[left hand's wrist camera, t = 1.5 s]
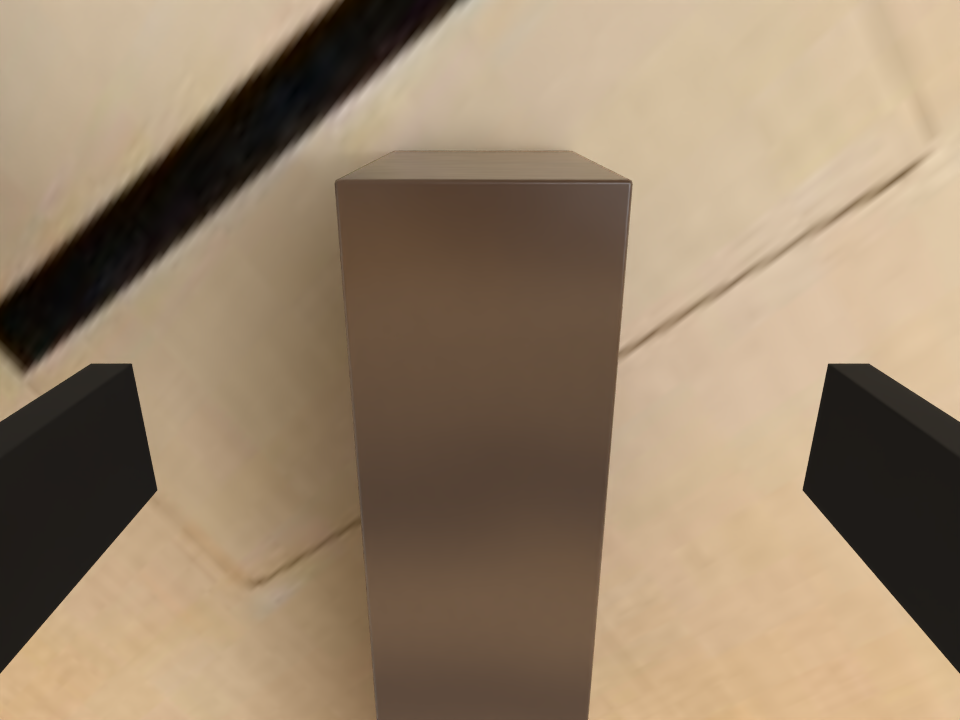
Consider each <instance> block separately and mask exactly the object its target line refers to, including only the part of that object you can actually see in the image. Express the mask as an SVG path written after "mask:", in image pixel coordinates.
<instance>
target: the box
mask: <svg viewBox="0 0 960 720" xmlns="http://www.w3.org/2000/svg"><path fill="white" fill-rule="evenodd" d="M632 185H633V184H632V181H631V180H629V179H627V178H625V177H623V176H621V175H619V174H617V173H615V172H613V171H611V170H609V169H607V168H605V167H603V166H601V165H599V164H597V163H595V162H593V161H591V160H589V159H587V158H585V157H583V156H581V155H579V154H577V153H575V152H573V151H393V152H391V153H389V154H387V155H385V156H383V157H381V158H379V159H377V160H375V161H373V162H371V163H369V164H367V165H365V166H363V167H361V168H359V169H358V170H356V171H354V172H352V173H350V174H348V175H346V176H344V177H342V178H340V179H338V180H336V181H335V194H336V207H337V219H338V232H339V245H340V258H341V270H342V283H343V296H344V309H345V322H346V334H347V347H348V360H349V373H350V385H351V398H352V411H353V424H354V437H355V449H356V462H357V475H358V488H359V500H360V513H361V526H362V539H363V552H364V564H365V577H366V590H367V603H368V615H369V628H370V641H371V654H372V667H373V679H374V692H375V705H376V718H377V720H588V714H589V702H590V690H591V678H592V666H593V654H594V642H595V630H596V618H597V606H598V594H599V582H600V570H601V558H602V546H603V534H604V522H605V510H606V498H607V486H608V474H609V462H610V450H611V438H612V426H613V414H614V402H615V390H616V378H617V366H618V353H619V341H620V329H621V317H622V305H623V293H624V281H625V269H626V257H627V245H628V233H629V221H630V209H631V197H632Z"/></svg>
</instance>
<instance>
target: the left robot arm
mask: <svg viewBox="0 0 960 720" xmlns="http://www.w3.org/2000/svg"><path fill="white" fill-rule="evenodd" d="M156 491H157V486H156V481H155V476H154V471H153V466H152V461H151V456H150V451H149V446H148V441H147V436H146V431H145V427H144V422H143V417H142V412H141V407H140V402H139V397H138V392H137V387H136V382H135V377H134V372H133V367H132V364H90V365H88V366H87V367H85V368H84V369H82V370H81V371H79V372H77V373H76V374H74V375H73V376H71V377H70V378H68V379H67V380H65V381H63V382H62V383H60V384H59V385H57V386H56V387H54V388H52V389H51V390H49V391H48V392H46V393H45V394H43V395H42V396H40V397H38V398H37V399H35V400H34V401H32V402H31V403H29V404H28V405H26V406H24V407H23V408H21V409H20V410H18V411H17V412H15V413H14V414H12V415H10V416H9V417H7V418H6V419H4V420H3V421H1V422H0V673H1V672H2V671H3V670H4V669H5V667H6V666H7V665H8V664H9V663H10V662H11V660H12V659H13V658H14V657H15V656H16V655H17V653H18V652H19V651H20V650H21V649H22V648H23V646H24V645H25V644H26V643H27V642H28V641H29V639H30V638H31V637H32V636H33V635H34V634H35V632H36V631H37V630H38V629H39V628H40V627H41V625H42V624H43V623H44V622H45V621H46V620H47V618H48V617H49V616H50V615H51V614H52V613H53V611H54V610H55V609H56V608H57V607H58V606H59V604H60V603H61V602H62V601H63V600H64V599H65V597H66V596H67V595H68V594H69V593H70V592H71V590H72V589H73V588H74V587H75V586H76V585H77V583H78V582H79V581H80V580H81V579H82V578H83V576H84V575H85V574H86V573H87V572H88V571H89V569H90V568H91V567H92V566H93V565H94V564H95V562H96V561H97V560H98V559H99V558H100V557H101V555H102V554H103V553H104V552H105V551H106V550H107V548H108V547H109V546H110V545H111V544H112V543H113V541H114V540H115V539H116V538H117V537H118V536H119V534H120V533H121V532H122V531H123V530H124V529H125V527H126V526H127V525H128V524H129V523H130V522H131V520H132V519H133V518H134V517H135V516H136V515H137V513H138V512H139V511H140V510H141V509H142V508H143V506H144V505H145V504H146V503H147V502H148V501H149V499H150V498H151V497H152V496H153V495H154V494H155V492H156ZM803 491H804V492H805V494H806V495H807V496H808V497H809V498H810V499H811V501H812V502H813V503H814V504H815V505H816V506H817V508H818V509H819V510H820V511H821V512H822V513H823V515H824V516H825V517H826V518H827V519H828V520H829V522H830V523H831V524H832V525H833V526H834V527H835V529H836V530H837V531H838V532H839V533H840V534H841V536H842V537H843V538H844V539H845V540H846V541H847V543H848V544H849V545H850V546H851V547H852V548H853V550H854V551H855V552H856V553H857V554H858V555H859V557H860V558H861V559H862V560H863V561H864V562H865V564H866V565H867V566H868V567H869V568H870V569H871V571H872V572H873V573H874V574H875V575H876V576H877V578H878V579H879V580H880V581H881V582H882V583H883V585H884V586H885V587H886V588H887V589H888V590H889V592H890V593H891V594H892V595H893V596H894V597H895V599H896V600H897V601H898V602H899V603H900V604H901V606H902V607H903V608H904V609H905V610H906V611H907V613H908V614H909V615H910V616H911V617H912V618H913V620H914V621H915V622H916V623H917V624H918V625H919V627H920V628H921V629H922V630H923V631H924V632H925V634H926V635H927V636H928V637H929V638H930V639H931V641H932V642H933V643H934V644H935V645H936V646H937V648H938V649H939V650H940V651H941V652H942V653H943V655H944V656H945V657H946V658H947V659H948V660H949V662H950V663H951V664H952V665H953V666H954V667H955V669H956V670H957V671H958V672H959V673H960V422H959V421H957V420H956V419H954V418H953V417H951V416H950V415H948V414H946V413H945V412H943V411H942V410H940V409H939V408H937V407H936V406H934V405H932V404H931V403H929V402H928V401H926V400H925V399H923V398H922V397H920V396H918V395H917V394H915V393H914V392H912V391H911V390H909V389H908V388H906V387H904V386H903V385H901V384H900V383H898V382H897V381H895V380H893V379H892V378H890V377H889V376H887V375H886V374H884V373H883V372H881V371H879V370H878V369H876V368H875V367H873V366H872V365H870V364H828V367H827V372H826V377H825V382H824V387H823V392H822V397H821V402H820V407H819V412H818V417H817V422H816V427H815V431H814V436H813V441H812V446H811V451H810V456H809V461H808V466H807V471H806V476H805V481H804V486H803Z"/></svg>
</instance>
